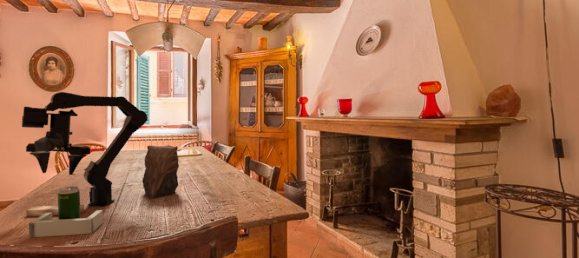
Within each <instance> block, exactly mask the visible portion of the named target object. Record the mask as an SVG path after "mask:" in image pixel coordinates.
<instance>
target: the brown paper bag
mask: <svg viewBox="0 0 579 258" xmlns="http://www.w3.org/2000/svg"><path fill="white" fill-rule="evenodd" d="M178 148H179V147H178V146H177V145H175V146H173V145H169V144H168V145H164V146H163V145H160V146H159V145H158V146H157V145H147V146H146V149H147V152H146V155H145V156H144V168H145V170H144V173H143V177H142V186H143V189H144V195H146V196H147V197H148V198H149V199H151V200H154V199H159V198H163V197H168V196H172V195H175V194H177V192H176V190H177V189H178V187H179V180H178V169H179V167H180V165H179V155H178Z"/></svg>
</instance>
